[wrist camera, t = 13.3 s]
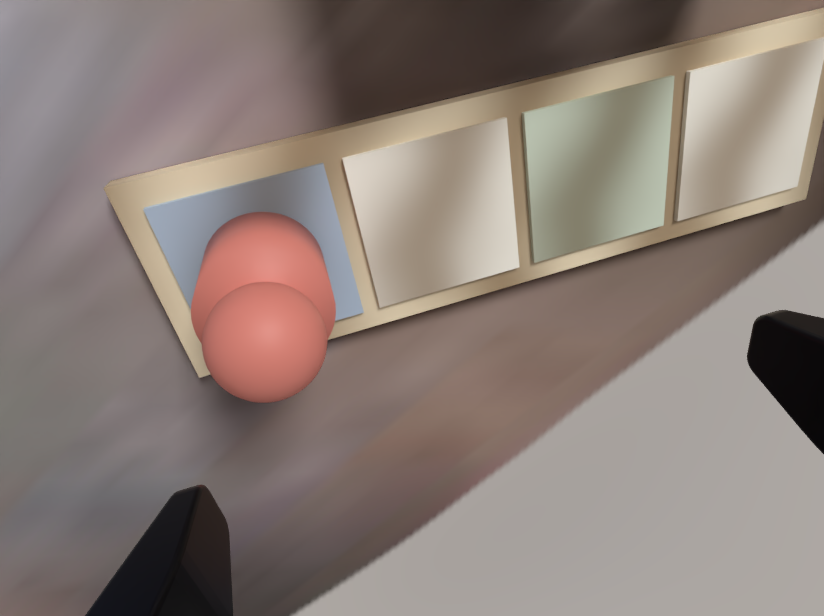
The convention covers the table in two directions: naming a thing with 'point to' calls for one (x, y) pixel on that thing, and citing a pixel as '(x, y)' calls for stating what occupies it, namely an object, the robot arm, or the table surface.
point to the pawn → (263, 307)
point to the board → (507, 176)
